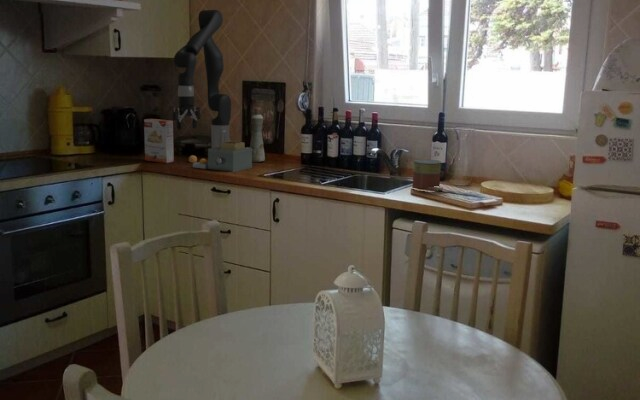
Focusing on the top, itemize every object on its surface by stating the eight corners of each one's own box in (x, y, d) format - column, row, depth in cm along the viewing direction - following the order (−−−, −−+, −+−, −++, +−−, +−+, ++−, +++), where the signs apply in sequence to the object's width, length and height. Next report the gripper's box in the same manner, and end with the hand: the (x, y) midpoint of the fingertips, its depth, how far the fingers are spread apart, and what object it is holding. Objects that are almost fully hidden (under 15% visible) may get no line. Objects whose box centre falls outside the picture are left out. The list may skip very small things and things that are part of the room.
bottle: (257, 163, 333) (257, 107, 328) (244, 161, 339) (244, 106, 333) (268, 161, 340) (269, 107, 334) (255, 159, 345) (256, 105, 340)
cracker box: (144, 160, 331) (143, 119, 327) (152, 159, 337) (151, 118, 332) (166, 163, 325) (165, 120, 321) (174, 162, 330) (173, 120, 326)
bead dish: (201, 166, 319) (201, 161, 318) (213, 167, 316) (213, 162, 315) (192, 168, 313) (192, 163, 312) (205, 169, 310) (204, 164, 309)
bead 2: (202, 166, 317) (202, 157, 316) (209, 166, 315) (209, 158, 314) (197, 167, 313) (197, 158, 312) (204, 167, 312) (204, 159, 311)
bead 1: (192, 162, 330) (192, 154, 330) (198, 163, 329) (198, 155, 328) (187, 163, 327) (187, 155, 326) (193, 164, 325) (193, 156, 324)
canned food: (436, 187, 282) (438, 159, 279) (441, 192, 271) (443, 163, 268) (410, 187, 281) (411, 159, 279) (414, 192, 270) (416, 163, 268)
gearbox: (227, 165, 324) (227, 140, 321) (252, 168, 317) (252, 142, 315) (205, 170, 308) (205, 143, 305) (230, 173, 302) (230, 146, 299)
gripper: (193, 94, 324) (194, 127, 328) (169, 95, 314) (170, 129, 318) (203, 95, 319) (203, 128, 323) (178, 96, 309) (179, 130, 313)
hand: (187, 128), depth 320 cm, fingers open, 8 cm apart
